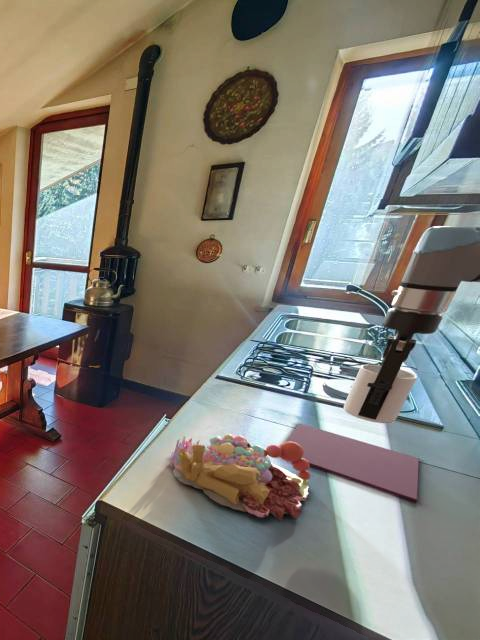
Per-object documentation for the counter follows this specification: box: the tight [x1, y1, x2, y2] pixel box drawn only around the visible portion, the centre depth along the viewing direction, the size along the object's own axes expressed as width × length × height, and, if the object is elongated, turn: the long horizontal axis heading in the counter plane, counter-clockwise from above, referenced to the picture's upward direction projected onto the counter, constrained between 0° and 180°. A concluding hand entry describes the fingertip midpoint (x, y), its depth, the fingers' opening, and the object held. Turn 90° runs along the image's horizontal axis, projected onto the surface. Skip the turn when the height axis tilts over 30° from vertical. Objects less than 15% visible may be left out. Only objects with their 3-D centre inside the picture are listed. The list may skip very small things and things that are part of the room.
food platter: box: [169, 433, 312, 522], centre depth 79 cm, size 25×24×9 cm
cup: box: [343, 364, 418, 424], centre depth 83 cm, size 8×12×10 cm
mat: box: [286, 423, 420, 503], centre depth 90 cm, size 22×22×1 cm
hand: (369, 408), depth 85 cm, fingers closed on cup, 12 cm apart
